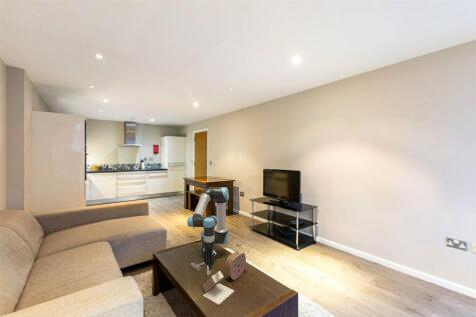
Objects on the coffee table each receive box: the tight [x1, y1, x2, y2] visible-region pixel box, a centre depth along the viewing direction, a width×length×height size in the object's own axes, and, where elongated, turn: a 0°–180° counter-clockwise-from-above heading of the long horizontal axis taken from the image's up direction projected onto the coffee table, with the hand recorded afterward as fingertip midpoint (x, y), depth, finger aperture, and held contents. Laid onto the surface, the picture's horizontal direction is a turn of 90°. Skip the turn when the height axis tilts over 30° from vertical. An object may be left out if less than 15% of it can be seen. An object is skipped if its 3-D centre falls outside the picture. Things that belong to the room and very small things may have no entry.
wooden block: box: [201, 270, 225, 293], centre depth 143 cm, size 9×5×13 cm
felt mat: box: [202, 282, 235, 306], centre depth 140 cm, size 16×14×1 cm
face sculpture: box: [224, 251, 247, 281], centre depth 161 cm, size 20×7×17 cm, turn 144°
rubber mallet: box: [190, 253, 223, 272], centre depth 181 cm, size 10×4×30 cm
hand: (209, 274), depth 145 cm, fingers closed
